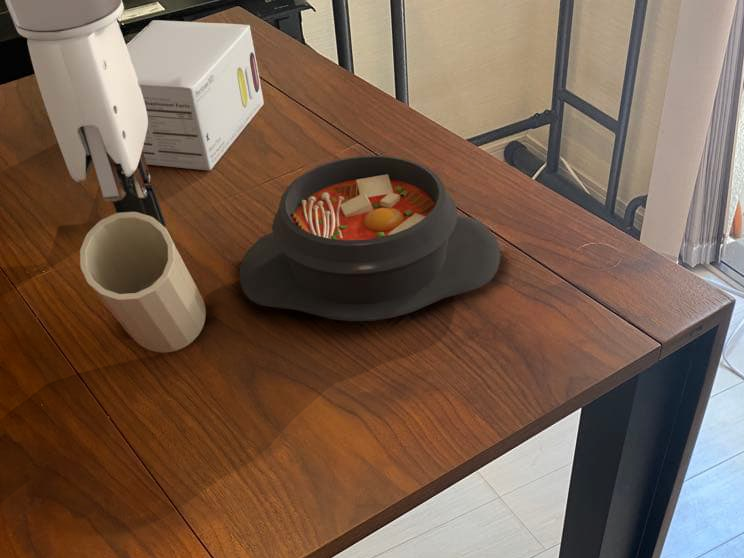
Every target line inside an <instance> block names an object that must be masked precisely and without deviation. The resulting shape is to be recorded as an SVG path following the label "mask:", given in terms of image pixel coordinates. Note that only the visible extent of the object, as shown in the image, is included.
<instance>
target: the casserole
mask: <svg viewBox="0 0 744 558" xmlns="http://www.w3.org/2000/svg"><path fill="white" fill-rule="evenodd" d="M455 202H456V201H455V200H454V199H453V198H452V196H451V195H450V193H449V192H448V191H447V189H446V188H445V186H444V183H443V181H442V180H441V178H440V177H439V176H438V175H437V173H435V172H434V171H432V170H431V169H430V168H429V167H426V166H425V165H423V164H421V163H419V162H417V161H413V160H410V159H406V158H401V157H396V156H392V155H391V156H389V155H359V156H352V157H345V158H340V159H336V160H333V161H329V162H326V163H323V164H321V165H318V166H316V167H313V168H311V169H310V170H308V171H305V172H304V173H303V174H301V175H299V176H297V178H295V179H294V180H293V181H292V182H291V183H290V184H289V185H288V186H287V187H286V189H285V190H284V192H283V193H282V195H281V197H280V202H279V205H278V210H277V212H276V213H275V215H274V217H273V221H272V225H271V231H272V232H270V233H267V234H265V235H263V236H261V237H259V238H258V239H257V240H256V241H255V242H254V243H253V244H252V245H251V246H250V247H249V248H248V249H247V251H246V253H245V255H244V256H243V258H242V260H241V263H240V266H239V270H238V276H239V277H238V278H239V285H240V287H241V289H242V293H243V294H244V295H245V296H246V297H247V298H248V299H249V301H251V302H253V303H255V304H256V305H259V306H261V307H267V308H268V307H269V308H278V309H285V310H286V309H287V310H293V311H299V312H303V313H306V314H309V315H314V316H318V317H320V318H325V319H329V320H335V321H336V320H337V321H343V322H344V321H345V322H374V321H381V320H387V319H393V318H396V317H400V316H403V315H409V314H411V313H413V312H416V311H418V310H421V309H422V308H425V307H428V306H430V305H432V304H435V303H436V302H439V301H441V300H443V299H446V298H450V297H454V296H457V295H460V294H464V293H468V292H471V291H474V290H477V289H480V288H482V287H483V286H485V285H486V284H488V283H490V282H491V281H492V280H493V278H494V277H495V275H496V274H497V272H498V270H499V267H500V263H501V248H500V245H499V242H498V240H497V238H496V236H495V235H494V234H493V232H492V231H491V229H490V228H488V227H487V226H486V225H485V224H483V223H482V222H480V221H479V220H478V219H475V218H473V217H470V216H465V215H460V214H459V215H458V208H457V205H456V203H455Z"/></svg>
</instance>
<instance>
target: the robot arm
mask: <svg viewBox="0 0 744 558" xmlns="http://www.w3.org/2000/svg"><path fill="white" fill-rule="evenodd" d="M4 2H5V4H6V7H7V9H8V12H9V14H10V17H11V19H12V21H13V25H14V28H15V29H16V31H17V33H18V34H19V36H21V37H23V38H26V39H27V40H26V41H27V42H26V44H27V47H28V48H27V49H28V52H29V56H30V61H31V64H32V68H33V71H34V75H35V79H36V82H37V85H38V88H39V92H40V94H41V98H42V101H43V103H44V106H45V110H46V113H47V116H48V118H49V121H50V124H51V126H52V129H53V132H54V135H55V138H56V140H57V144H58V146H59V150H60V151H61V154H62V155H61V156H62V157H63V159H64V163H65V165H66V168H67V170H68V172H69V175H70V177H71V179H73V181H75V182H76V183H83V182H84V181H85V180H87V176H88V174H89V171H90V168H91V165H92V163H93V167H94V170H95V174H96V178H97V180H98V183H99V187H100V190H101V193H102V197H103V199H104V201H105V203H107V202H111V203H112V204H113V207H114V210H115V211H116V213H124V212H138V213H141V214H144V215H147V216H150V217H153V218H154V219H155V220H157V221H158V222H159V223H160V224H161V225H163V226H164V227H165V228H166V229H167V223H166V221H165V217H164V215H163V211H162V209H161V205H160V202H159V199H158V197H157V193H156V191H155V187H154V184H151V175H150V171H149V167H148V164H147V163H146V160H145V157H144V153H143V150H142V149H143V145H144V141H145V137H146V132H147V127H148V116H147V111H146V106H145V103H144V99H143V95H142V92H141V88H140V85H139V82H138V79H137V76H136V73H135V70H134V67H133V64H132V61H131V58H130V55H129V52H128V49H127V46H126V45H127V43H126V41H125V37H124V36H123V32H122V30H121V26H120V24H119V23H118V20H119V19H120V17H122V16H123V14H124V11H125V6H124V3H123V0H4Z"/></svg>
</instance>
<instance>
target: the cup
mask: <svg viewBox="0 0 744 558" xmlns="http://www.w3.org/2000/svg"><path fill="white" fill-rule="evenodd" d="M81 244H82V245H81V246H80V250H79V267H80V270H81V272H82V274H83V276H84V278H85V280H86V283H87V284H88V285H89V287H90V288H91V289H92V291H93V292H94V293H95V294H96V296H98V298H99V299H100V300H101V302H102V303H103V304H104V305H105V307H106V308H107V309H108V310H109V312H110V313H111V314H112V315H113V316H114V318H115V319H116V321H117V322H118V323H119V324H120V326H121V327H122V328H123V329H124V330H125V331H126V333H127V334H128V335H129V337H131V338H132V339H133V340H134V342H136V344H138V345H139V346H140V347H142V348H144V349H146V350H148V351H151V352H154V353H172V352H177V351H179V350H182V349H184V348H185V347H188V346H189V345H190V344H192V343H193V342H194V341H195V340H196V339H197V338H198V337H199V335H200V334H201V332H202V330H203V328H204V326H205V322H206V317H207V315H206V314H207V310H206V303H205V301H204V298H203V296H202V294H201V291H200V290H199V288H198V286H197V283H196V282H195V281H194V279H193V277H192V275H191V273H190V271H189V268H188V267H187V266H186V263H185V262H184V260H183V257H182V255H181V254H180V252H179V250H178V248H177V246H176V244H175V242H174V240H173V238H172V237H171V235H170V232H169V231H168V229H167V227H166V228H165V227H164V226H163V225H161V224H160V223H159V222H158V221H157V220H155V219H154V218H153V217H150V216H147V215H144V214H141V213H138V212H124V213H117V212H116V213H114V214H111V215H109V216H107V217H105V218H102V219H100V220H99V221H98V222H97V223H96V224H95V225H94V226H93V227H92V228H90V230H89V231H88V232H87V233H86V235H85V237H84V239H83V241H82V243H81Z"/></svg>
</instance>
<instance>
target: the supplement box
mask: <svg viewBox="0 0 744 558" xmlns="http://www.w3.org/2000/svg"><path fill="white" fill-rule="evenodd" d="M126 46H127V49H128V52H129V55H130V58H131V61H132V64H133V67H134V70H135V73H136V76H137V79H138V82H139V85H140V88H141V92H142V95H143V99H144V103H145V106H146V111H147V116H148V127H147V132H146V137H145V141H144V145H143V149H142V150H143V153H144V157H145V160H146V163H147V166H148V165H149V166H158V167H160V166H161V167H167V168H169V167H170V168H179V169H187V170H199V171H208V172H211V171H212V169H213V168H214V167H215V166H216V164H217V163H218V162H219V161H220V159H221V158H222V157H223V156H224V154H225V153H226V152H227V151H228V149H229V148H230V147H231V146H232V144H233V143H234V142H235V141H236V139H238V137H239V136H240V135H241V133H242V132H243V131H244V130H245V128H246V127H247V126H248V125H249V123H250V122H251V121H252V120H253V119H254V118H255V116H256V114H257V113H258V112H259V111H260V109H261V108H262V107H263V106H264V105H265V102H264V96H263V91H262V85H261V78H260V74H259V69H258V63H257V58H256V51H255V46H254V41H253V36H252V30H251V26H250V25H249V24H243V23H242V24H240V23H225V22H224V23H223V22H221V23H220V22H197V21H182V20H181V21H180V20H179V21H178V20H159V19H157V20H155V19H153V20H151V21H150V22H149V23H148V25H146V26H145V27H144V28H143V29H141V31H140V32H138V34H136V35H135V36H134V37H133V38H132V39H131V40H130V41H129V42H128V43H126Z"/></svg>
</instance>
